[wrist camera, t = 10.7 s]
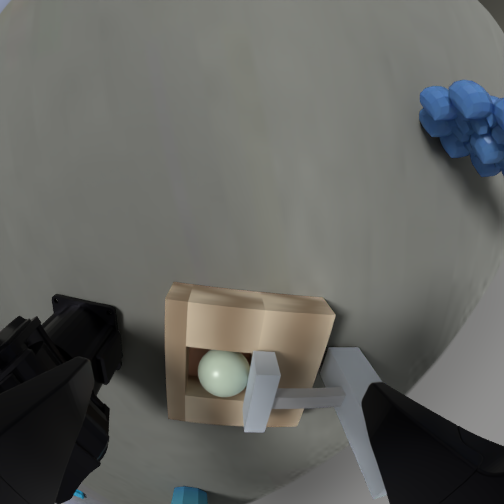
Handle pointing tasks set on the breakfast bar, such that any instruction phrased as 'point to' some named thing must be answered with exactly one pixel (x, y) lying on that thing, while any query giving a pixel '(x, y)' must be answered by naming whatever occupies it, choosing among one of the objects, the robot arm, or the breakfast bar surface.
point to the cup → (189, 496)
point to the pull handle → (319, 400)
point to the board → (239, 346)
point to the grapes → (466, 123)
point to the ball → (223, 372)
